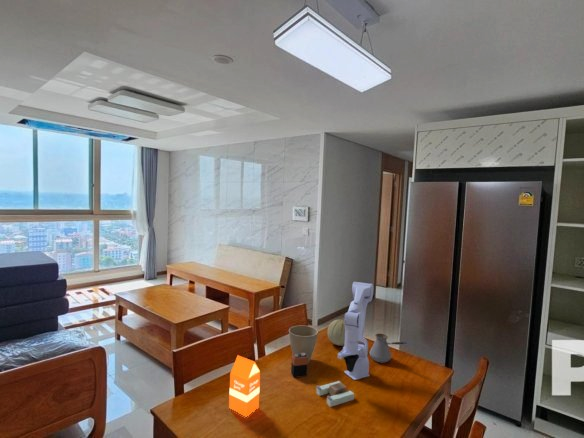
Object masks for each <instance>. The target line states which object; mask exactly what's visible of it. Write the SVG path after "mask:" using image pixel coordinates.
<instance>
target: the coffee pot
mask: <svg viewBox="0 0 584 438" xmlns="http://www.w3.org/2000/svg"><path fill="white" fill-rule="evenodd" d="M374 336H375V340H374V342H373V345H371V349H370V350H369V351H368V352H369V356H370V357H371V359H372V360H373V361H374V362H376V363H379V362H380V363H381V364H385V362H386V363H388V362H389V361H390V360H391V359H392V357H393V355H392V352H391V350H390V347H389V345H399V346H400V345H404V347H405V348H407V347H408V345H409V343H407V342H405V341H394V342H393V341H391V342H388V341H387V339H388V337H389V336H388V335H387V334H385V333H376V334H374ZM380 363H379V364H380Z"/></svg>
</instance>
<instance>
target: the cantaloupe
mask: <svg viewBox="0 0 584 438" xmlns="http://www.w3.org/2000/svg"><path fill="white" fill-rule="evenodd" d="M327 327H328V328H327V337H328V339H329V342H330V343H332V344H333V345H336V346H338V347H344V346H345V324H344V318H343V317H342V318H341V319H334V320H333V321H331V322H330V323H329V325H328V326H327Z"/></svg>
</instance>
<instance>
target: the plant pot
mask: <svg viewBox="0 0 584 438" xmlns="http://www.w3.org/2000/svg"><path fill="white" fill-rule="evenodd" d="M318 333H319V332H318V329H317V328H315V327H313V326H309V325H300V324H299V325H295V326H291V327H290V328H289V329H288V336H289V343H290V349H291V352H292V355H294V354H301V353H305V354H306V356H307V357H308V364H309V363H310V362H311V358H312V356H313V353H314V351H315V347H316V343H317V340H318V339H317V338H318Z"/></svg>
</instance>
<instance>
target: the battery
mask: <svg viewBox="0 0 584 438" xmlns="http://www.w3.org/2000/svg"><path fill="white" fill-rule="evenodd" d="M308 364H309V363H308V357H307V356H306V354H305V353H301V354H294V355H293V354H292V355H291V367H290V374H291V375H292V377H293V378H300V377H306V376H308Z"/></svg>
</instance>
